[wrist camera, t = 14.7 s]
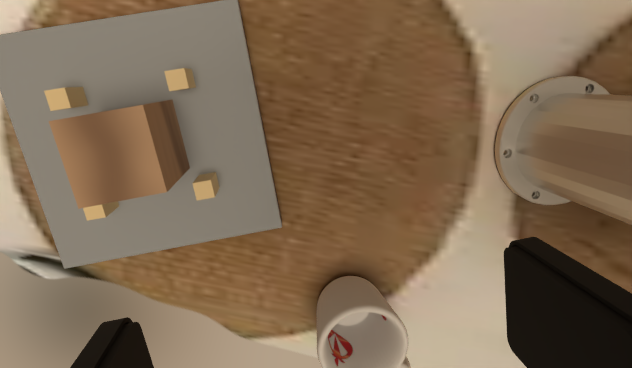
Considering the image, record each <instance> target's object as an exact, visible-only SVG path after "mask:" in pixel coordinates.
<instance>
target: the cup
mask: <svg viewBox="0 0 632 368" xmlns="http://www.w3.org/2000/svg"><path fill="white" fill-rule="evenodd" d="M407 350H408V335H407V331H406V328H405V326H404V324H403V322H402V321H401V320H400V318H399V317H398V316H397V314H396V313H395V312H394V310H393V309H392V308H391V306H390V305H389V304H388V302H387V301H386V300H385V298H384V297H383V296H382V294H381V293H380V292H379V290H378V289H377V288H376V287H375V286H374V285H373V284H372V283H371V282H369V281H368V280H366V279H364V278H361V277H357V276H344V277H340V278H338V279H335V280H334V281H332V282H331V283H329V284H328V285H327V286H326V287H325V288H324V290H323V291H322V293H321V294H320V297H319V299H318V303H317V354H318V359H319V362H320V364H321V366H322V368H411V367H410V363H409V361H408V359H407V357H406V354H407Z"/></svg>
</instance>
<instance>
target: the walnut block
mask: <svg viewBox="0 0 632 368" xmlns="http://www.w3.org/2000/svg"><path fill="white" fill-rule="evenodd" d="M49 124H50V127H51V130H52V133H53V136H54V139H55V142H56V144H57V147H58V150H59V153H60V156H61V159H62V162H63V165H64V168H65V171H66V174H67V176H68V179H69V182H70V185H71V188H72V191H73V194H74V197H75V200H76V203H77V206H78V209H80V208H85V207H91V206H96V205H101V204H107V203H112V202H117V201H123V200H128V199H133V198H139V197H144V196H149V195H155V194H160V193H165V192H168V191H169V190H170V189H171V187H172V186H173V185H174V184H175V183H176V182H177V181H178V180H179V179H180V178H181V177H182V176H183V175H184V174H185V173H186V172H187V171H188V170H189V169H190V166H189V162H188V158H187V154H186V150H185V146H184V143H183V139H182V135H181V131H180V127H179V123H178V119H177V115H176V112H175V108H174V104H173V100H166V101H161V102H155V103H149V104H143V105H138V106H132V107H126V108H121V109H115V110H109V111H103V112H98V113H92V114H87V115H81V116H75V117H70V118H64V119H59V120H53V121H49Z"/></svg>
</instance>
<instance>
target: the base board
mask: <svg viewBox="0 0 632 368" xmlns="http://www.w3.org/2000/svg"><path fill="white" fill-rule="evenodd" d="M0 91H1V94H2V97H3V100H4V102H5V105H6V108H7V111H8V113H9V116H10V119H11V122H12V125H13V127H14V130H15V133H16V136H17V138H18V141H19V144H20V147H21V150H22V152H23V155H24V158H25V161H26V163H27V166H28V169H29V172H30V175H31V177H32V180H33V183H34V186H35V188H36V191H37V194H38V197H39V200H40V202H41V205H42V208H43V211H44V213H45V216H46V219H47V222H48V225H49V227H50V230H51V233H52V236H53V238H54V241H55V244H56V247H57V250H58V252H59V255H60V258H61V261H62V263H63V266H64V269H65V268H70V267H75V266H81V265H86V264H91V263H96V262H102V261H107V260H112V259H118V258H123V257H128V256H133V255H139V254H144V253H149V252H155V251H160V250H165V249H170V248H176V247H181V246H186V245H191V244H197V243H202V242H207V241H213V240H218V239H223V238H228V237H234V236H239V235H244V234H249V233H255V232H260V231H265V230H271V229H276V228H281V227H282V221H281V216H280V211H279V206H278V201H277V196H276V191H275V186H274V181H273V176H272V170H271V165H270V160H269V155H268V150H267V145H266V140H265V135H264V130H263V124H262V119H261V114H260V109H259V104H258V99H257V94H256V89H255V84H254V78H253V73H252V68H251V63H250V58H249V53H248V48H247V43H246V38H245V32H244V27H243V22H242V17H241V12H240V7H239V2H238V0H223V1H216V2H210V3H203V4H197V5H190V6H184V7H177V8H171V9H164V10H158V11H151V12H145V13H138V14H132V15H125V16H119V17H112V18H106V19H99V20H93V21H86V22H80V23H73V24H67V25H60V26H54V27H47V28H41V29H34V30H28V31H21V32H15V33H8V34H2V35H0ZM166 100H173V104H174V108H175V112H176V115H177V119H178V123H179V127H180V131H181V135H182V139H183V143H184V146H185V150H186V154H187V158H188V162H189V166H190V169H189V170H188V171H187V172H186V173H185V174H184V175H183V176H182V177H181V178H180V179H179V180H178V181H177V182H176V183H175V184H174V185H173V186H172V187H171V189H170V190H169V191H168V192H165V193H160V194H155V195H149V196H144V197H139V198H133V199H128V200H123V201H117V202H112V203H107V204H101V205H96V206H91V207H85V208H80V209H78V206H77V203H76V200H75V197H74V194H73V191H72V188H71V185H70V182H69V179H68V176H67V174H66V171H65V168H64V165H63V162H62V159H61V156H60V153H59V150H58V147H57V144H56V142H55V139H54V136H53V133H52V130H51V127H50V124H49V121H53V120H59V119H64V118H70V117H75V116H81V115H87V114H92V113H98V112H103V111H109V110H115V109H121V108H126V107H132V106H138V105H143V104H149V103H155V102H161V101H166Z"/></svg>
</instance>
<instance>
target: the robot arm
mask: <svg viewBox="0 0 632 368" xmlns="http://www.w3.org/2000/svg"><path fill="white" fill-rule="evenodd" d="M504 151H505V152H504ZM495 158H496V164H497V168H498V171H499V173H500V175H501V178H502V179H503V181H504V182H505V184H506V185H507V187H509V188H510V189H511V190H512V191H513V192H514V193H515V194H517V195H518V196H520V197H522V198H524V199H526V200H528V201H530V202H533V203H537V204H541V205H559V204H564V203H568V202H571V201H573V202H575V203H578V204H580V205H583V206H585V207H588V208H590V209H593V210H595V211H598V212H600V213H603V214H605V215H608V216H610V217H613V218H615V219H618V220H620V221H622V222H625V223H627V224H630V225H632V95H611V94H610V93H609V92H608V91H607V90H606V89H605V88H604V87H603V86H601V85H600V84H598V83H597V82H595V81H592V80H590V79H587V78H584V77H577V76H560V77H554V78H549V79H546V80H544V81H541V82H538V83H537V84H535V85H533V86H532V87H530V88H528V89H527V90H526V91H524V92H523V93H522V94H521V95H520V96H519V97H518V98H517V99H516V100H515V101H514V102H513V103H512V105H511V106H510V107H509V108H508V110H507V112H506V113H505V115H504V117H503V119H502V121H501V123H500V126H499V129H498V132H497V137H496V142H495ZM504 269H505V294H506V319H507V338H508V343H509V345H510V347H511V349H512V351H513V352H514V354H515V355H516V356H517V357H518V358H519V359H520V360H521V361H522V363H523V364H524V365H525V366H526V367H527V368H632V294H631V293H630V292H628V291H626V290H625V289H623V288H621V287H620V286H618V285H616V284H614V283H613V282H611V281H609V280H608V279H606V278H604V277H603V276H601V275H599V274H598V273H596V272H594V271H592V270H591V269H589V268H587V267H586V266H584V265H582V264H581V263H579V262H577V261H576V260H574V259H572V258H571V257H569V256H567V255H565V254H564V253H562V252H560V251H559V250H557V249H555V248H554V247H552V246H550V245H549V244H547V243H545V242H543V241H542V240H540V239H538V238H536V237H530V238H525V239H520V240H515V241H512V242H511V243H510V245H509V248H506V249H505V251H504ZM71 368H154V367H153V364H152V360H151V357H150V354H149V351H148V348H147V345H146V342H145V338H144V335H143V332H142V329H141V327H140V324H139V323H138V322H134V323H133V322H132V320H131V319H130V318H123V319H118V320H113V321H108V322H104V323H102V324H101V325H100V326H99V328H98V329H97V331H96V332H95V334H94V335H93V336H92V338H91V339H90V341H89V342H88V343H87V345H86V346H85V348H84V349H83V350H82V352H81V353H80V355H79V356H78V358H77V359H76V360H75V362H74V363H73V365H72V366H71Z"/></svg>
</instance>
